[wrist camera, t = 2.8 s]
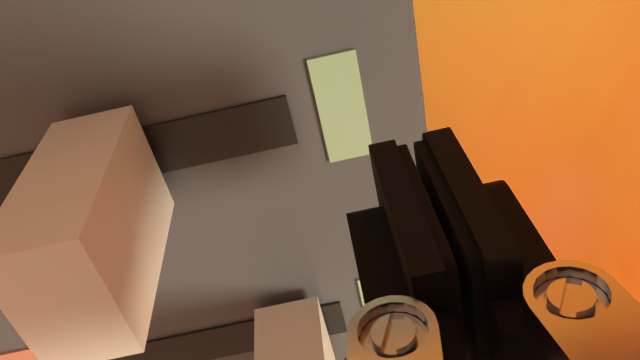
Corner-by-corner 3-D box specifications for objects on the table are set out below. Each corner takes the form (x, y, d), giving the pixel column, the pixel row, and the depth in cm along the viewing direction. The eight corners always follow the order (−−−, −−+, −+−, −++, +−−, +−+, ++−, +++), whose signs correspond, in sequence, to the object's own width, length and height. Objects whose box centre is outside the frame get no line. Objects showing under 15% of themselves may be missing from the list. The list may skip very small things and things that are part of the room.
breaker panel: (-499, -260, 11) (-604, -266, 10) (342, -483, 10) (354, -522, 9) (33, 404, 23) (20, 442, 21) (440, 321, 22) (452, 355, 21)
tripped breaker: (51, 123, 14) (-35, 263, 10) (132, 105, 14) (78, 238, 10) (102, 218, 16) (46, 372, 12) (174, 203, 16) (143, 352, 12)
